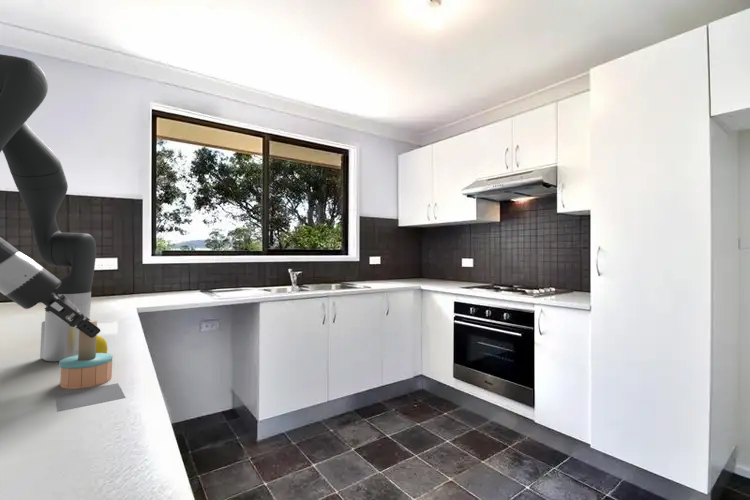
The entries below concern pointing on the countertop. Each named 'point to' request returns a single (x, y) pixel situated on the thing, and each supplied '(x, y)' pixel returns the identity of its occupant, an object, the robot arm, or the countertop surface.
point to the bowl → (85, 376)
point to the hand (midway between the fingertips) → (93, 330)
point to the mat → (88, 397)
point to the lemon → (101, 345)
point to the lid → (86, 354)
